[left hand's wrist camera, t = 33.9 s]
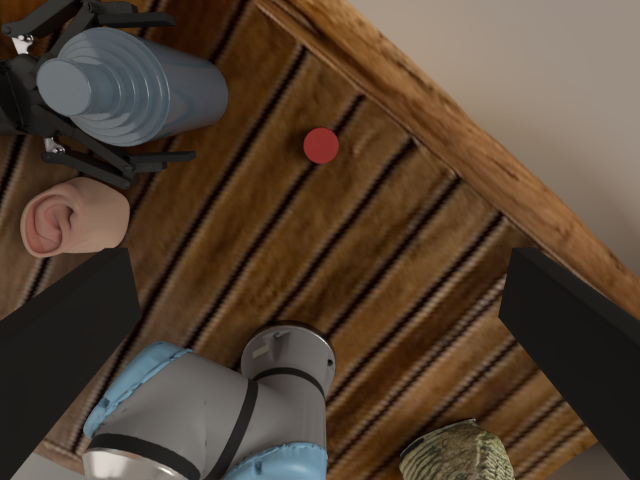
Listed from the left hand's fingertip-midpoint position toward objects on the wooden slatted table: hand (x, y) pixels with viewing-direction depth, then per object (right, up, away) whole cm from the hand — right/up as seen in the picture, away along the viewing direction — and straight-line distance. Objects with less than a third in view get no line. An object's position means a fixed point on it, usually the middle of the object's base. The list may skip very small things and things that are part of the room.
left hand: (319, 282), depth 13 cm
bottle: (-16, +20, +33) cm, 41 cm away
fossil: (+23, -35, +54) cm, 69 cm away
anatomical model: (-33, +5, +39) cm, 51 cm away
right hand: (-15, +17, +27) cm, 35 cm away
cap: (0, +13, +34) cm, 36 cm away
